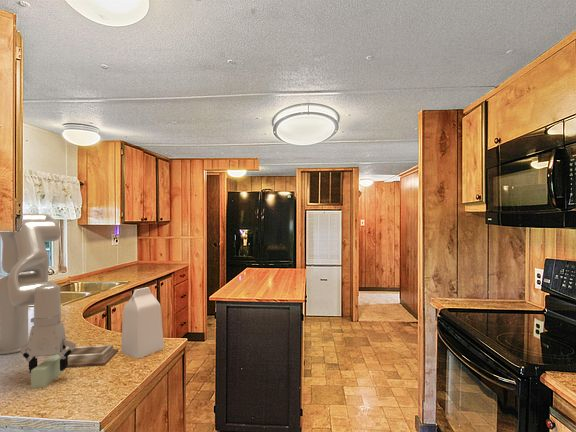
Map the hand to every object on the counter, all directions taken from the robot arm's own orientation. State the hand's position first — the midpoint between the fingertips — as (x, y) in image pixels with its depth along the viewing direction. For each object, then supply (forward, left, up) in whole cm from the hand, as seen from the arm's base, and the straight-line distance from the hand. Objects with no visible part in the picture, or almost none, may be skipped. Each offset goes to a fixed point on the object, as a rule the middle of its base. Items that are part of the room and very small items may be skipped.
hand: (48, 370), depth 115 cm
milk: (+25, +21, -3) cm, 33 cm away
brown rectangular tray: (+5, +15, -3) cm, 16 cm away
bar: (0, 0, -3) cm, 3 cm away
